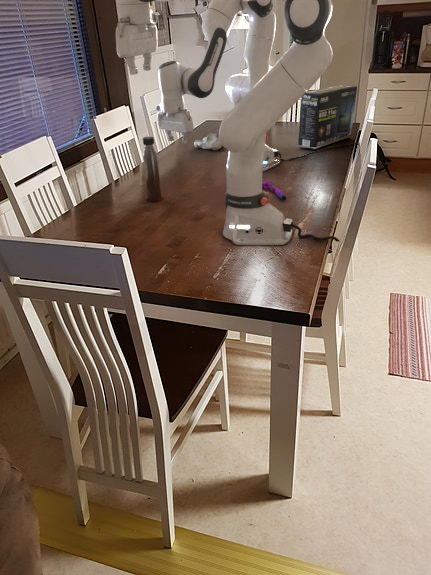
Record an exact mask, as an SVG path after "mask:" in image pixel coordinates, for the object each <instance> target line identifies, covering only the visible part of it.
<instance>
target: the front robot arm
mask: <svg viewBox="0 0 431 575" xmlns="http://www.w3.org/2000/svg"><path fill="white" fill-rule="evenodd" d="M170 1H171V0H116V8H117V16H118V23H117V26H116V28H115V45H116V54H117V55H118V58H125V62H126V64H127V67H128V71H129V74H130V75H132V76H133V75H134V76H135V75H137V74H138V72H139V71H138V66H136V63H135V61H136V57H137V56H142V58H143V63H142V67H143V68H142V69H143V71H145V72H146V71H148V72H149V71H151V70H152V65H151V64H152V58H153V57H152V53H156V52H157V51H158V47H159V46H158V45H159V44H158V43H159V42H158V28H157V25H156V24H157V23H158V16H157V14H156V13H155V12H154V11H153V10H152V9H151V3H153V2H170ZM278 1H279V2H281V3H282V4H283V5H284V6H283V18H284V19H283V20H284V22H285V25H286V27H287V29H288V32H289V34H290V37H291V39H292V44H291V46H290V47H289V48H288V50H287V51H286V52H285V53H283V55H282V56H281V57H280V58H279V59H278V60H277V61H276V63H274V65H273V66H272V67H271V68H269V71H268V72H267V74H266V75H265V76H264V77H263V78H262V79H261V80H260V81H259V82H258V83H257V84H256V85H255V86H254V87H253V88H252V89H251V90H250V91H249V92H248V93H247V94H246V96H245V97H244V98H243V99H242V100H241V101H240V102H239V103H238V104H237V105H236V106H235V107H233V108H231V110H230V111H229V112H228V113H227V114H226V115H225V116H224V117H223V119H222V121H221V123H220V126H219V129H218V136H219V139H220V142H221V144H222V145H223V146H222V147H223V148H224V149H226V150H227V151H228V155H227V160H226V165H225V177H226V178H225V179H226V180H225V181H226V182H225V183H226V190H225V194H224V205H225V209H226V210H225V218H224V219H225V220H224V226H223V229H222V235H223V237H225V239H228V240H230V241H232V243H233V244H234V245H236V246H283V245H286V244H288V243H289V242H290V240H291V239H292V237H293V228H294V229H296V230H297V237H298V238H300V239H306V238H312V239H313V240H316V241H320V242H321V241H328V240H334V241H335V242H338V243H339V242H340V239H339V238H338V237H336V236H334V235H330V236H323V237H318V236H316V235H315V234H310V233H307V234H302V228H301V227H300V226H299V225H297V224H294V218H285V215H284V213H283V212H282V211H280V210H279V209H278V208H277V207H276V206H275V205H272V204H271V203H270V202H269V194H270V192H269V191H267V192H266V191H265V190H263V187H262V182H263V172H264V171H263V158H264V150H265V144H266V141H267V140H266V135H267V133H268V131H269V130H270V129H272V128H273V126H275V124H276V123H277V122H278V121H279V120H280V119H281V118H282V117H283V116H284V115H285V114H286V113H287V112H288V111H289V110H290V109H291V108H292V107H293V106H294V105H295V104H296V103H297V102H298V101H299V100H301V97H302V96H303V95H304V94H305V93H306V92H308V91H310V89H311V88H312V87H313V86H314V85H315V84H316V83H317V82H318V81H319V79H320V78H321V77H322V75H323V74H324V73H325V71H326V70H327V69H328V67H329V66H330V64H331V63H332V61H333V56H334V55H333V54H334V53H333V49H332V48H333V47H332V46H331V44H330V42H329V41H328V40H327V37H326V36H325V29H326V27H327V25H328V23H329V22H330V20H331V18H332V14H333V1H332V0H278Z"/></svg>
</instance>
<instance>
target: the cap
mask: <svg viewBox="0 0 431 575" xmlns="http://www.w3.org/2000/svg"><path fill="white" fill-rule="evenodd" d="M142 144H143V146H145V145H153V146H154V144H155V139H154V137H153V136H144V137H142Z"/></svg>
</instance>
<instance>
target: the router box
mask: <svg viewBox="0 0 431 575" xmlns="http://www.w3.org/2000/svg"><path fill="white" fill-rule="evenodd" d="M357 93H358V86H356V85H350V84H339V85H338V84H337V85H334V86H328V87H324V88H318V89H314V90H308V91H307V92H306V93H305V94H304V95H303V96H302V97H301V98H300V109H299V110H300V111H299V124H298V137H297V146H298V145H302V146H307V147H317V146H320V145H323V144H325V143H328V142H331V141H333V140H336V139H338V138H341V137H344V136H347V135H351V136H352V133H353V132H352V131H353V125H354V115H355V109H356V99H357ZM311 151H313V150H312V149H311Z"/></svg>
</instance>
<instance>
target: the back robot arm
mask: <svg viewBox="0 0 431 575" xmlns="http://www.w3.org/2000/svg"><path fill="white" fill-rule="evenodd" d="M273 1H274V0H210V2H209V4H208V6H207V9H206V11H205V13H204V16H203V18H202V22H201V31H202V34H203V36H204V37H205V39H206V40H207V47H206V50H205V53H204V54H203V55H204V56H203V58H202V60H201V63H200V65H199V66H198V67H197V68H192V67H188V66H185V65H183V64H181V63H179V62H178V61H177V60H170V61H166V62H164V63H161V65H159V67H158V72H157V74H158V76H157V78H158V86H159V87H158V88H159V91H160V94H161V96H160V101H161V102H160V103H159V104H157V105H155V112H156V117H157V118H156V119H157V123H158V127H159V129H160V130H165V131H164V132H165V134H166V136H167V139H168V141H169V142H173V141H174V140H175V138H174V135H173V133H172V132H175V133H181V136H182V138H181V139H180V142H181V144H182V145H186V144H188V137H189V134H192V133H193V132H194V129H195V127H194V122H193V117H192V115H191V112H190V111H189V110H188V108H186V107H185V99H184V95H189V96H193V97H194V98H195V97H196V98H198V99H205V98H208V97H209V96H210V95H211V94H212V92H213V91H214V88H215V82H216V75H217V71H218V68H219V66H220V63H221V60H222V57H223V54H224V52H225V49H226V45H227V42H228V36H229V33H230V31H231V28H232V26H233V24H234V22H235V19H236V17H237V16H238V17H245V16H247V17H248V30H247V34H246V39H245V44H244V48H243V49H244V50H243V54H242V55H243V59H244V61H245V63H246V65H247V74H246V73H245V74H242V73H238V74H233V75H231V76H230V77H228V78H227V80H226V82H225V85H224V90H225V94H226V96H227V97H228V98H229V100H230V101H231V104H232V106H233V108H234V107H235V106H236V105H237V104H238V103H239V102H240V101H241V100H242V99H243V98H244V97H245V96H246V94H247V93H248V92H249V91H250V90H251V89H252V88H253V87H254V86H255V85H256V84H257V83H258V82H259V81H260V80H261V79H262V78H263V77H264V76H265V75H266V74H267V72H268V71H269V70H270V61H271V60H270V59H271V54H272V50H273V46H274V45H273V44H274V40H275V35H276V34H275V33H276V24H277V17H276V13H275V12H274V11H273V7H274V4H273ZM268 140H269V135H267V134H266V140H265V141H268ZM355 142H356V141H355ZM351 145H353V144H351ZM351 145H350V146H351ZM354 145H356V146H359V145H360V144H359V143H358V142H356V143H355V144H354ZM314 151H315V152H313V151H311V152H312V153H310V152H308V153H309V154H308V153H306V154H307V155H305V154H303V155H304V156H302V155H300V156H301V157H299V156H295V157H296V158H294V157H292V158H288V159H284V158H282V153H280V152H279V150H277V149H274V148H271V147H270V146H269V145H267V144H266V143H265V150H264V158H263V167H264V168H263V171H262V172H267V171H268V170H270V169H272V168H273V167H276V166H277V165H280V161H281V162H288V161H290V162H291V161H295V160H298V159H302V158H305V157H308V156H311V155H313V154H315V153H318V152H317V151H316V150H314ZM278 157H279V160H280V161H279V162H278V163H276V164H274V165H272V166H270V167H269V166H268V167H266V165H267V164H269V163H271V162H273V161H277V160H278V159H276V160H274V159H275V158H278ZM280 158H282V159H280ZM265 167H266V168H265Z"/></svg>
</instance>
